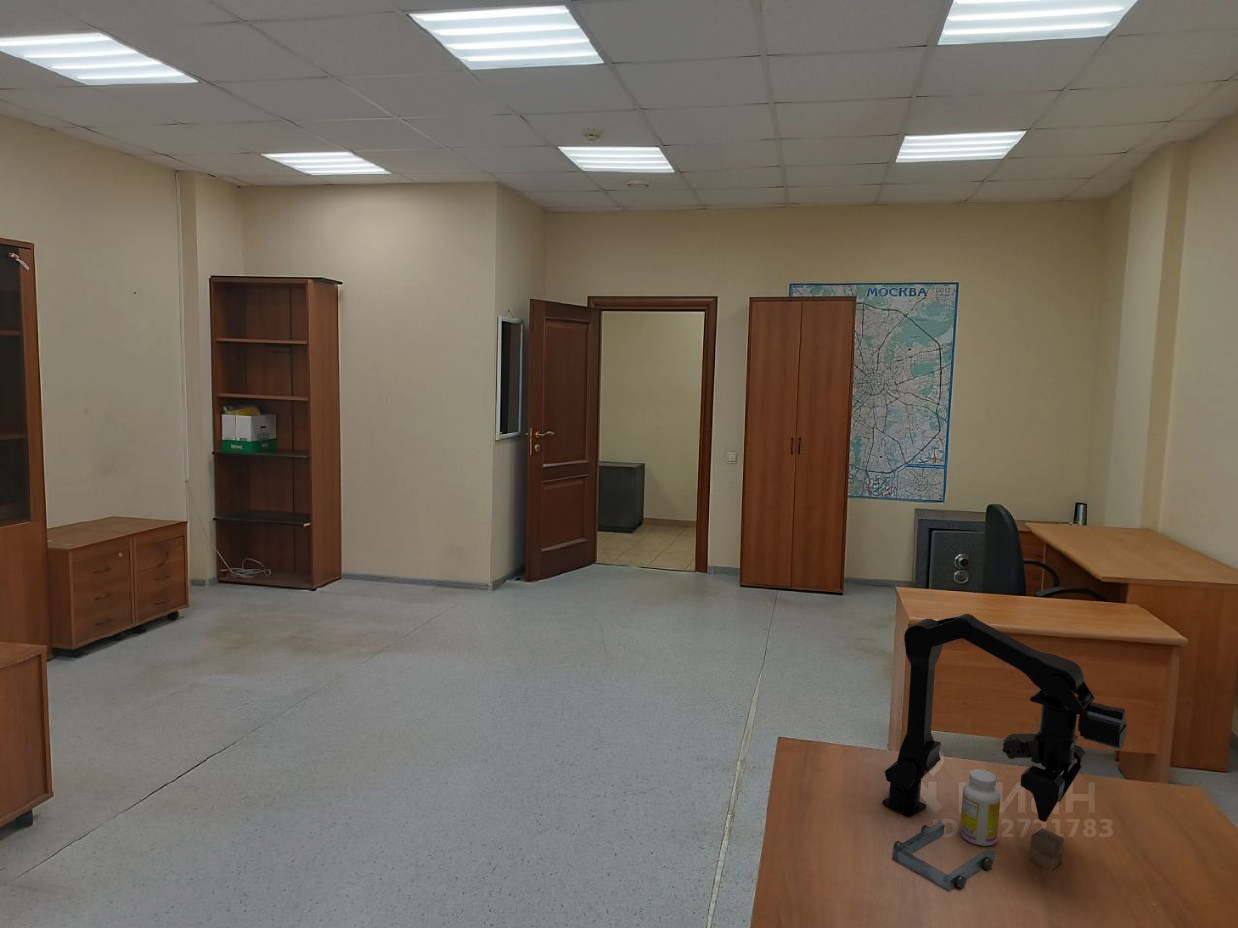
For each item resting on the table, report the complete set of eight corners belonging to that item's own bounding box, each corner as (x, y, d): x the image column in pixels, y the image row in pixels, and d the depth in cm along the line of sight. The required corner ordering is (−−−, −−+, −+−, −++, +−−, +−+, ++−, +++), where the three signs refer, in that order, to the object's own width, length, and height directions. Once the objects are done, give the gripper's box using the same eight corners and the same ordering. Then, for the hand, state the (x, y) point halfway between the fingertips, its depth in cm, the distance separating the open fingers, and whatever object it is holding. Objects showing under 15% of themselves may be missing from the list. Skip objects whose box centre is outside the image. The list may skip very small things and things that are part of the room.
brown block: (1039, 852, 157) (1042, 827, 156) (1061, 862, 153) (1064, 837, 153) (1029, 859, 154) (1031, 834, 153) (1051, 870, 151) (1053, 845, 150)
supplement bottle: (995, 831, 163) (1000, 770, 161) (998, 850, 157) (1004, 786, 155) (958, 824, 165) (963, 763, 163) (960, 842, 159) (965, 780, 157)
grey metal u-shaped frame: (933, 828, 164) (934, 818, 163) (999, 862, 153) (1000, 852, 153) (887, 855, 154) (888, 845, 154) (954, 893, 144) (955, 883, 144)
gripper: (1025, 701, 162) (1019, 776, 164) (993, 732, 149) (986, 814, 151) (1089, 719, 155) (1081, 797, 157) (1061, 753, 141) (1053, 838, 143)
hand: (1049, 810), depth 152 cm, fingers open, 9 cm apart
